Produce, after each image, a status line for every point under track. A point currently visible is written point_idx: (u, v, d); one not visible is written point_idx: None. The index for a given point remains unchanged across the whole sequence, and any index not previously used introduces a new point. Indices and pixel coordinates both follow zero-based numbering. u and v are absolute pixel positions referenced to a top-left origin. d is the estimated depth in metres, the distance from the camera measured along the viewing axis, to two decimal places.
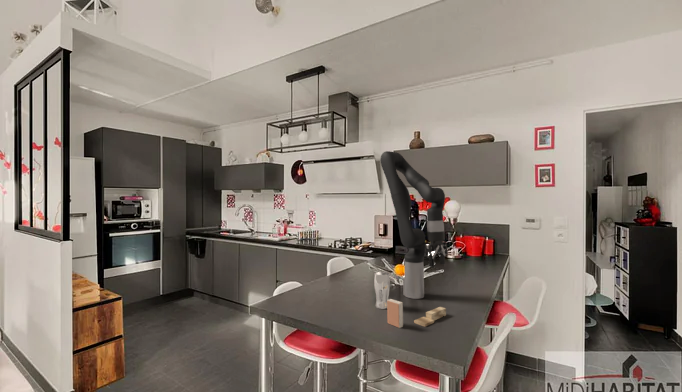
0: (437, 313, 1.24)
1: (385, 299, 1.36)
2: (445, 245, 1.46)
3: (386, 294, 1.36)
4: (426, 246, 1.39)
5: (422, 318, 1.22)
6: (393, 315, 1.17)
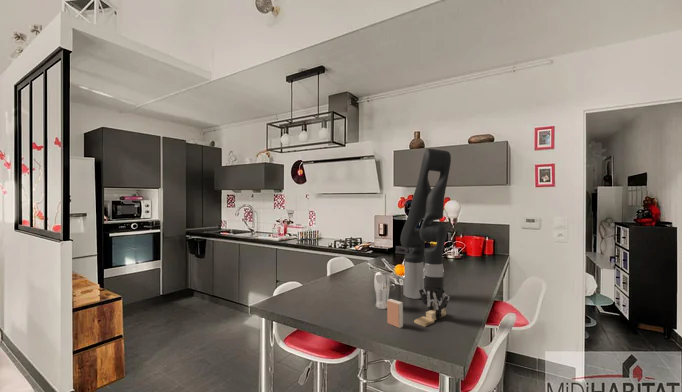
0: None
1: (385, 299, 1.36)
2: None
3: (386, 294, 1.36)
4: (447, 299, 1.19)
5: (422, 317, 1.22)
6: (393, 315, 1.17)
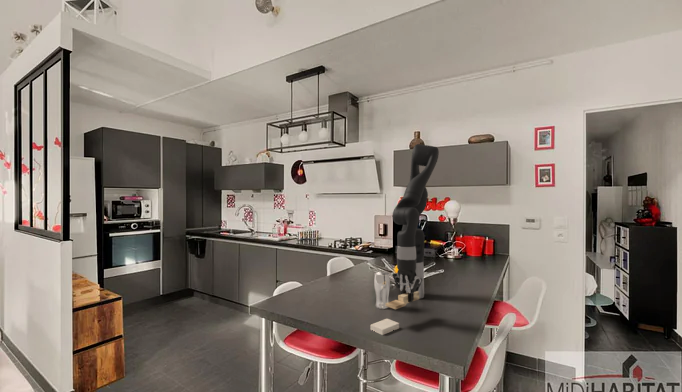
0: None
1: (385, 299, 1.36)
2: None
3: (386, 294, 1.36)
4: (419, 282, 1.18)
5: (394, 301, 1.21)
6: None
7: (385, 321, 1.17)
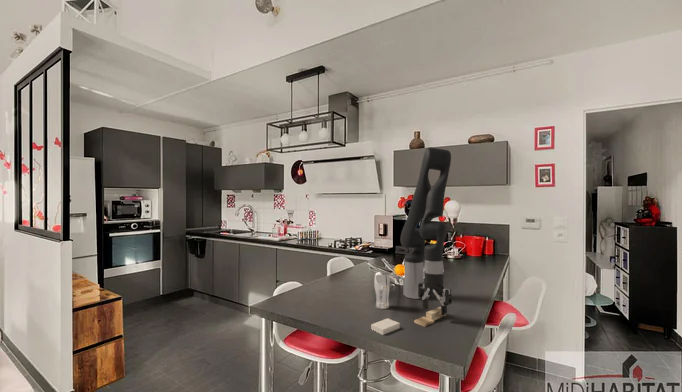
0: (437, 312, 1.24)
1: (385, 299, 1.36)
2: None
3: (386, 294, 1.36)
4: (448, 292, 1.19)
5: (422, 318, 1.22)
6: None
7: (385, 321, 1.17)
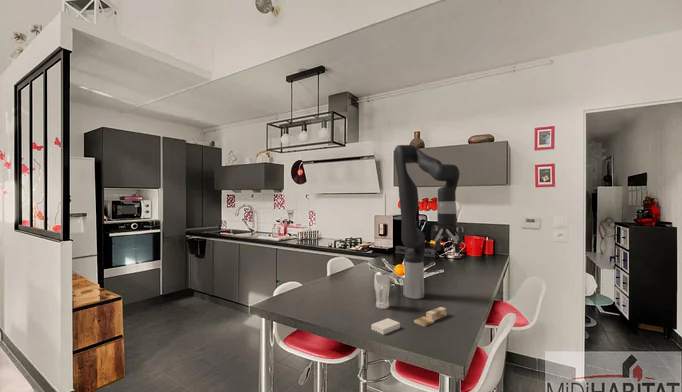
0: (438, 313, 1.24)
1: (385, 299, 1.36)
2: (436, 229, 1.33)
3: (386, 294, 1.36)
4: (461, 230, 1.22)
5: (422, 318, 1.22)
6: None
7: (386, 321, 1.17)
